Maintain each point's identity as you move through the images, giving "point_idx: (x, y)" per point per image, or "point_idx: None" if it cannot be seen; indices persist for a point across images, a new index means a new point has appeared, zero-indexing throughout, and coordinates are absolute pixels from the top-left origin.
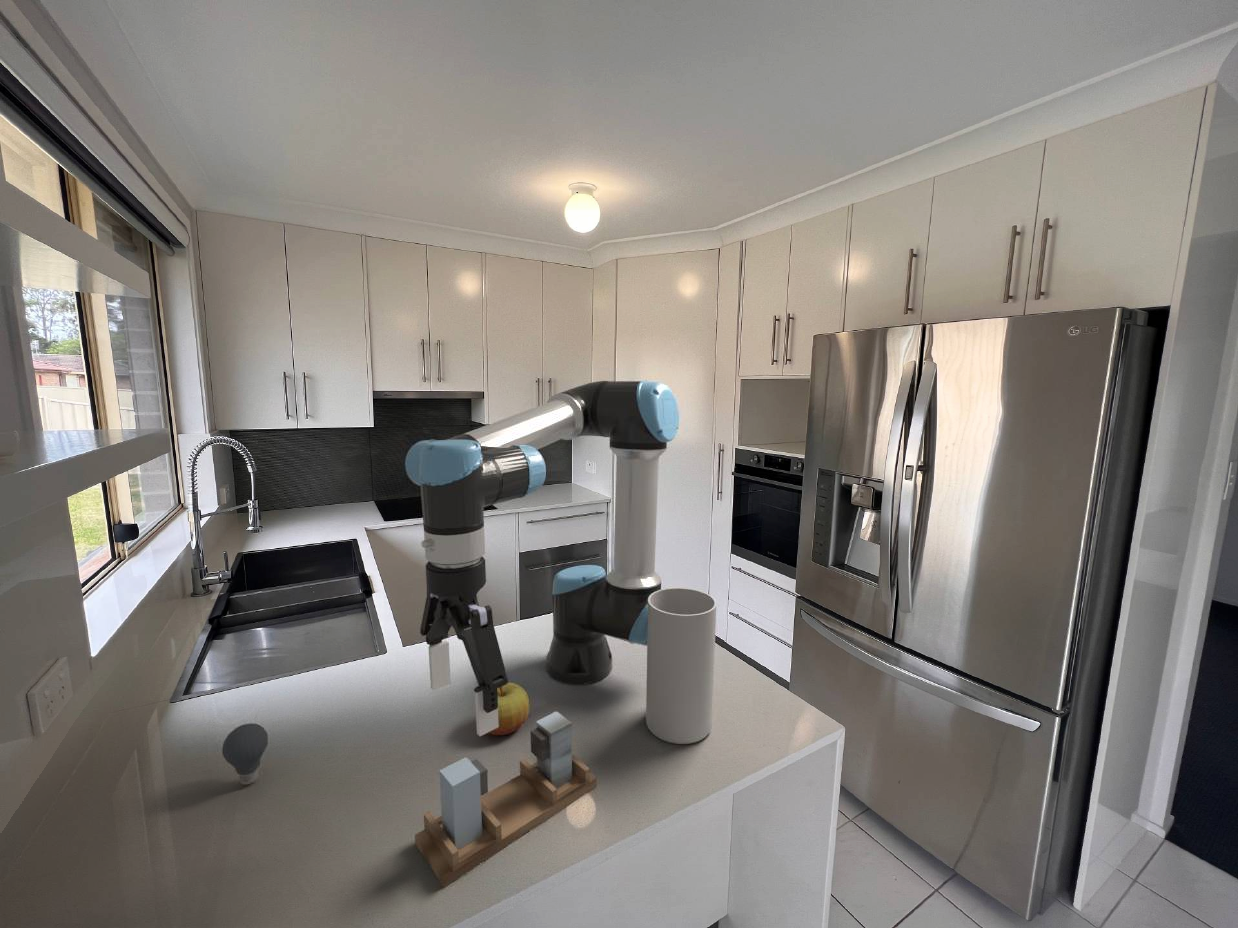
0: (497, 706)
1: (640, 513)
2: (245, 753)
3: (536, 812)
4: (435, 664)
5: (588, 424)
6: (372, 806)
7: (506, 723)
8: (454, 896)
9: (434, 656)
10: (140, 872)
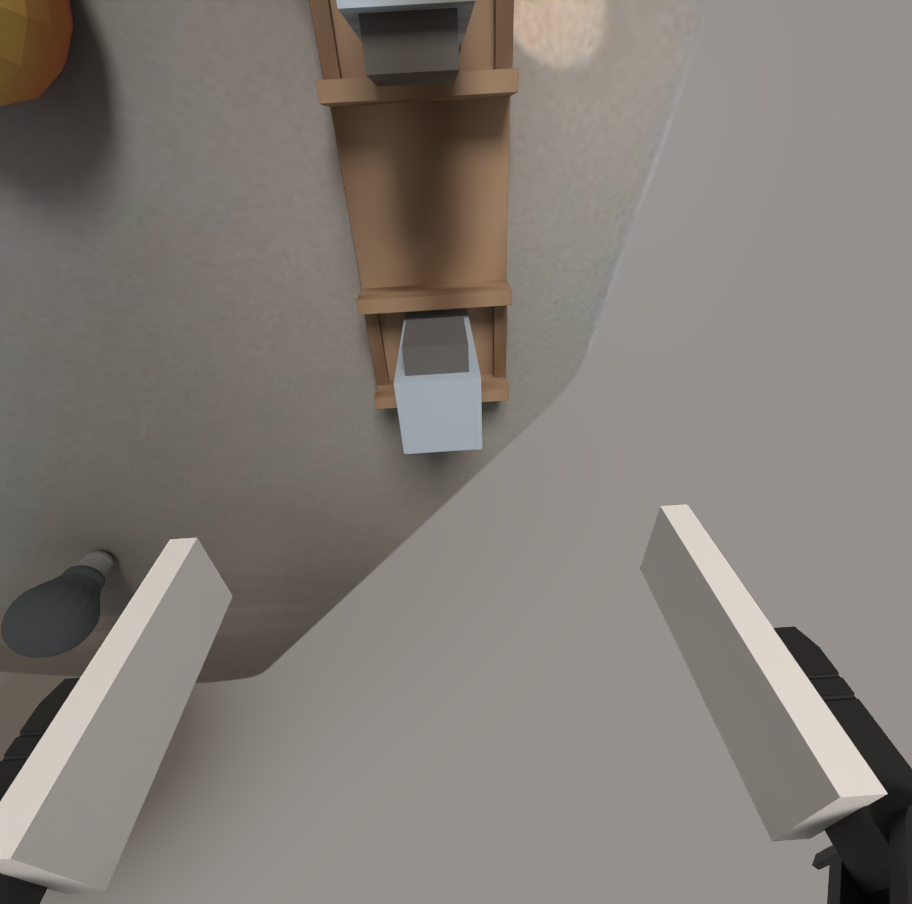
0: (812, 643)
1: None
2: (90, 621)
3: (495, 157)
4: (163, 724)
5: None
6: (249, 429)
7: (50, 2)
8: (527, 383)
9: (132, 790)
10: (247, 625)
